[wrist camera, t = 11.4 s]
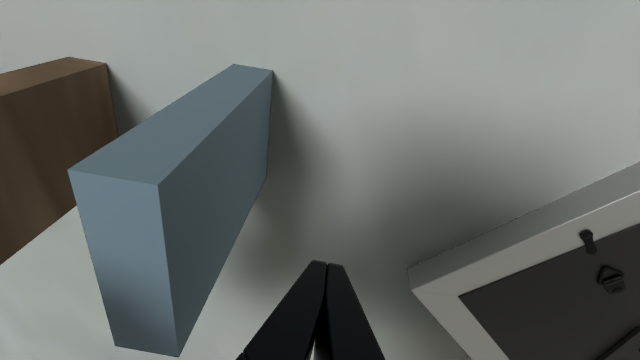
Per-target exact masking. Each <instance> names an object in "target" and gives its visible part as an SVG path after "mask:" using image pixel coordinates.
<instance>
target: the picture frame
mask: <svg viewBox="0 0 640 360" xmlns="http://www.w3.org/2000/svg"><path fill="white" fill-rule="evenodd" d="M407 272H408V278H409V284H410V290H411V291H412V292H413V293H414V295H415V296H416V297H417V298H418V299H419V300H420V301H421V302H422V304H423V305H424V306H425V307H426V308H427V309H428V310H429V311H430V313H431V314H432V315H433V316H434V317H435V318H436V319H437V320H438V322H439V323H440V324H441V325H442V326H443V327H444V328H445V329H446V331H447V332H448V333H449V334H450V335H451V336H452V337H453V338H454V340H455V341H456V342H457V343H458V344H459V345H460V346H461V348H462V349H463V350H464V351H465V352H466V353H467V354H468V355H469V357H470V358H471V359H472V360H640V162H638V163H636V164H634V165H632V166H630V167H627V168H625V169H623V170H621V171H619V172H617V173H614V174H612V175H610V176H608V177H606V178H604V179H601V180H599V181H597V182H595V183H593V184H591V185H588V186H586V187H584V188H582V189H580V190H578V191H575V192H573V193H571V194H569V195H567V196H565V197H562V198H560V199H558V200H556V201H554V202H552V203H549V204H547V205H545V206H543V207H541V208H539V209H536V210H534V211H532V212H530V213H528V214H526V215H523V216H521V217H519V218H517V219H515V220H513V221H510V222H508V223H506V224H504V225H502V226H500V227H498V228H495V229H493V230H491V231H489V232H487V233H485V234H482V235H480V236H478V237H476V238H474V239H472V240H469V241H467V242H465V243H463V244H461V245H459V246H456V247H454V248H452V249H450V250H448V251H446V252H443V253H441V254H439V255H437V256H435V257H433V258H430V259H428V260H426V261H424V262H422V263H420V264H417V265H415V266H413V267H411V268H409V269H407Z"/></svg>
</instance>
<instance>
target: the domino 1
mask: <svg viewBox="0 0 640 360" xmlns="http://www.w3.org/2000/svg"><path fill="white" fill-rule="evenodd" d="M118 137H119V136H118V130H117V124H116V118H115V113H114V107H113V101H112V95H111V89H110V84H109V78H108V72H107V66H106V63H102V62H96V61H90V60H84V59H78V58H72V57H66V58H62V59H58V60H54V61H50V62H46V63H42V64H38V65H34V66H30V67H26V68H22V69H18V70H14V71H10V72H6V73H2V74H0V265H1V264H2V263H3V262H5V261H6V260H7V259H9V258H10V257H11V256H12V255H14V254H15V253H16V252H17V251H19V250H20V249H21V248H23V247H24V246H25V245H26V244H28V243H29V242H30V241H32V240H33V239H34V238H35V237H37V236H38V235H39V234H40V233H42V232H43V231H44V230H46V229H47V228H48V227H49V226H51V225H52V224H53V223H55V222H56V221H57V220H58V219H60V218H61V217H62V216H64V215H65V214H66V213H67V212H69V211H70V210H71V209H72V208H74V207H75V206H76V205H77V204H76V200H75V196H74V193H73V189H72V185H71V182H70V178H69V174H68V171H67V170H68V169H69V168H71V167H72V166H74V165H75V164H77V163H79V162H80V161H82V160H83V159H85V158H87V157H88V156H90V155H91V154H93V153H94V152H96V151H98V150H99V149H101V148H102V147H104V146H105V145H107V144H109V143H110V142H112V141H113V140H115V139H116V138H118Z"/></svg>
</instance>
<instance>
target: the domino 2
mask: <svg viewBox="0 0 640 360" xmlns="http://www.w3.org/2000/svg"><path fill="white" fill-rule="evenodd" d="M272 79H273V70H267V69H261V68H255V67H249V66H242V65H236V64H233V65H231V66H230V67H228V68H227V69H225V70H223V71H222V72H220V73H219V74H217V75H216V76H214V77H212V78H211V79H209V80H208V81H206V82H205V83H203V84H201V85H200V86H198V87H197V88H195V89H194V90H192V91H190V92H189V93H187V94H186V95H184V96H183V97H181V98H179V99H178V100H176V101H175V102H173V103H172V104H170V105H168V106H167V107H165V108H164V109H162V110H161V111H159V112H157V113H156V114H154V115H153V116H151V117H149V118H148V119H146V120H145V121H143V122H142V123H140V124H138V125H137V126H135V127H134V128H132V129H131V130H129V131H127V132H126V133H124V134H123V135H121V136H120V137H118V138H116V139H115V140H113V141H112V142H110V143H109V144H107V145H105V146H104V147H102V148H101V149H99V150H98V151H96V152H94V153H93V154H91V155H90V156H88V157H87V158H85V159H83V160H82V161H80V162H79V163H77V164H75V165H74V166H72V167H71V168H69V169H68V170H67V171H68V174H69V178H70V182H71V185H72V189H73V193H74V196H75V200H76V204H77V207H78V211H79V215H80V218H81V222H82V226H83V229H84V233H85V237H86V240H87V244H88V248H89V251H90V255H91V259H92V262H93V266H94V270H95V273H96V277H97V281H98V284H99V288H100V292H101V295H102V299H103V303H104V306H105V310H106V314H107V318H108V321H109V325H110V329H111V332H112V336H113V340H114V343H115V346H118V347H124V348H129V349H135V350H140V351H146V352H151V353H157V354H162V355H168V356H173V357H179V356H180V354H181V352H182V350H183V348H184V346H185V344H186V342H187V339H188V337H189V335H190V333H191V331H192V329H193V327H194V325H195V323H196V321H197V319H198V317H199V315H200V313H201V311H202V309H203V307H204V305H205V302H206V300H207V298H208V296H209V294H210V292H211V290H212V288H213V286H214V284H215V282H216V280H217V278H218V276H219V274H220V272H221V270H222V267H223V265H224V263H225V261H226V259H227V257H228V255H229V253H230V251H231V249H232V247H233V245H234V243H235V241H236V239H237V237H238V235H239V233H240V230H241V228H242V226H243V224H244V222H245V220H246V218H247V216H248V214H249V212H250V210H251V208H252V206H253V204H254V202H255V200H256V198H257V196H258V193H259V191H260V189H261V187H262V185H263V183H264V181H265V179H266V171H267V155H268V140H269V125H270V109H271V94H272Z"/></svg>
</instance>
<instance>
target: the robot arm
mask: <svg viewBox="0 0 640 360" xmlns="http://www.w3.org/2000/svg"><path fill="white" fill-rule="evenodd" d="M314 341H315V343H314ZM313 346H314V360H385V358H384V355H383V353H382V351H381V349H380V347H379V344H378V342H377V340H376V338H375V336H374V333H373V331H372V329H371V327H370V324H369V322H368V320H367V318H366V316H365V313H364V311H363V309H362V307H361V304H360V302H359V300H358V298H357V296H356V293H355V291H354V289H353V287H352V285H351V282H350V280H349V278H348V276H347V273H346V271H345V269H344V267H343V266H342V265H339V264H333V263H329V264H328V265H327V263H326V262H322V261H316V260H313V261H311V262H310V264H309V265H308V266H307V268H306V269H305V270H304V272H303V273H302V274H301V276H300V277H299V278H298V279H297V281H296V282H295V283H294V285H293V286H292V287H291V289H290V290H289V291H288V293H287V294H286V295H285V296H284V298H283V299H282V300H281V302H280V303H279V304H278V306H277V307H276V308H275V310H274V311H273V312H272V313H271V315H270V316H269V317H268V319H267V320H266V321H265V323H264V324H263V325H262V327H261V328H260V329H259V330H258V332H257V333H256V334H255V336H254V337H253V338H252V340H251V341H250V342H249V344H248V345H247V346H246V347H245V349H244V350H243V353H241V354H240V355H239V356H238V358H237V359H236V360H310V358H311V354H312V350H313Z"/></svg>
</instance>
